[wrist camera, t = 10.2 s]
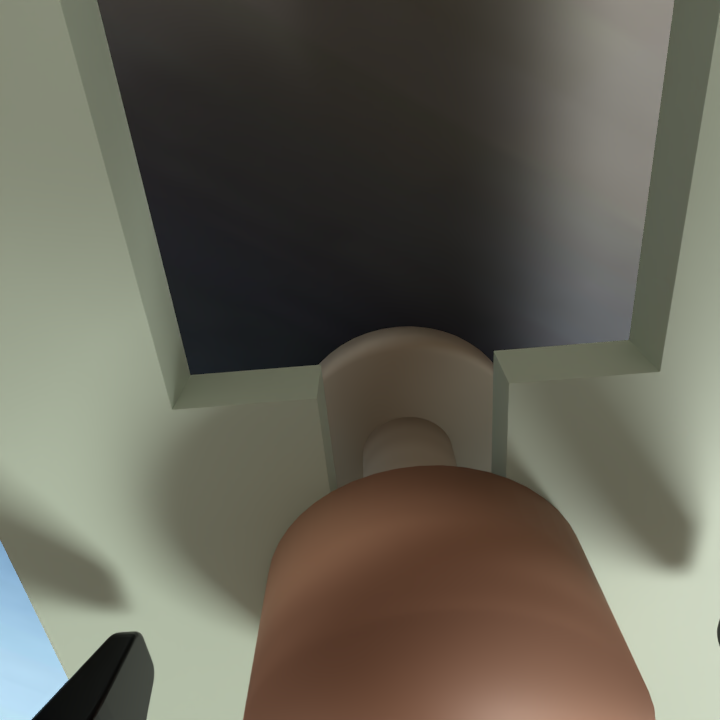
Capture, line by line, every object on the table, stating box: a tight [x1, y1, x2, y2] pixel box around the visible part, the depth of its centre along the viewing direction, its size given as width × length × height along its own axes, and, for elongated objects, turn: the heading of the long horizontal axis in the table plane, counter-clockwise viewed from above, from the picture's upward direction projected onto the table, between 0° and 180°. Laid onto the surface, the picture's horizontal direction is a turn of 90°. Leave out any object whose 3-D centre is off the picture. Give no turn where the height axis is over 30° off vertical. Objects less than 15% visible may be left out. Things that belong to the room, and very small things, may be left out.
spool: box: [243, 326, 656, 720], centre depth 11 cm, size 5×5×8 cm
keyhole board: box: [0, 0, 720, 720], centre depth 11 cm, size 13×18×6 cm
